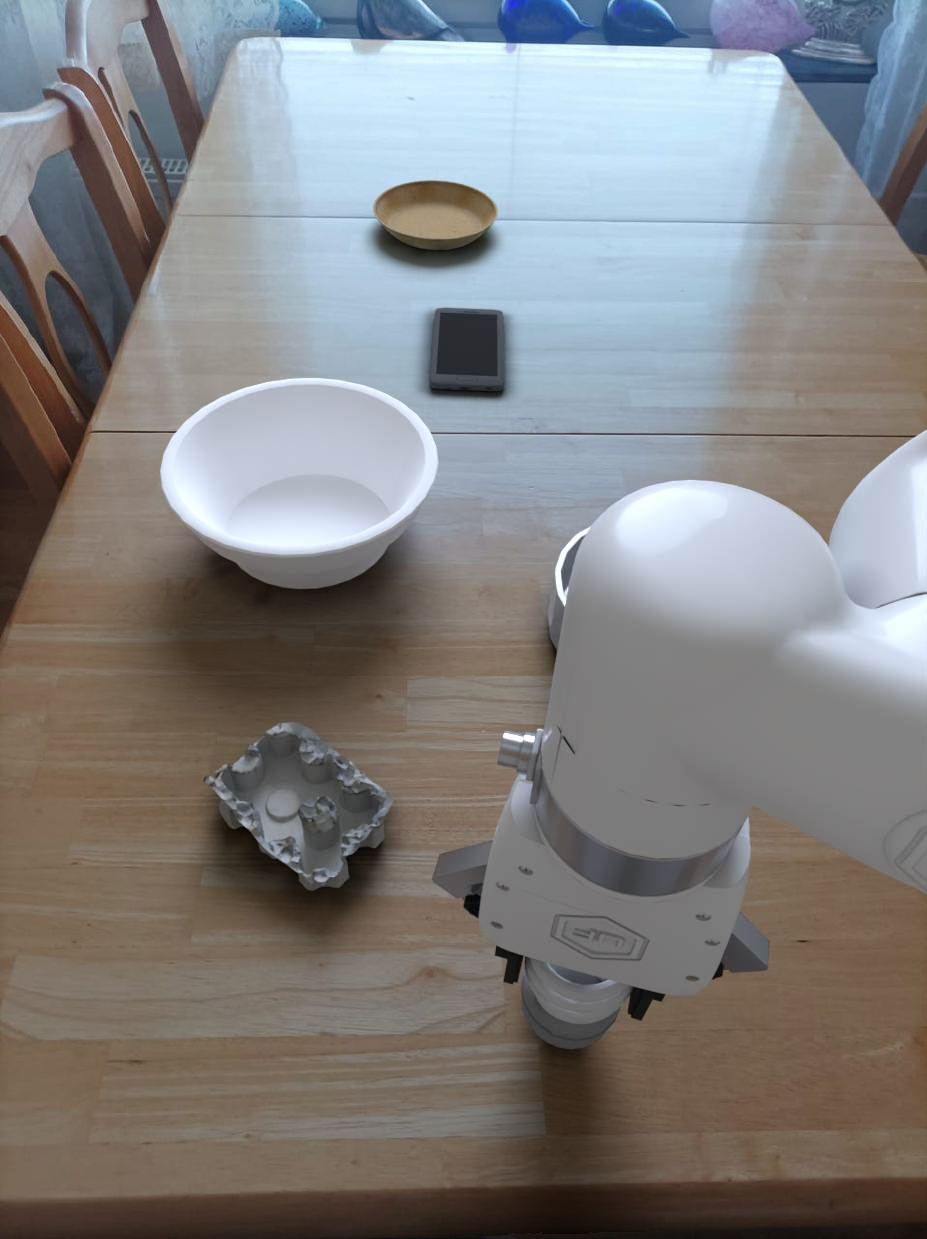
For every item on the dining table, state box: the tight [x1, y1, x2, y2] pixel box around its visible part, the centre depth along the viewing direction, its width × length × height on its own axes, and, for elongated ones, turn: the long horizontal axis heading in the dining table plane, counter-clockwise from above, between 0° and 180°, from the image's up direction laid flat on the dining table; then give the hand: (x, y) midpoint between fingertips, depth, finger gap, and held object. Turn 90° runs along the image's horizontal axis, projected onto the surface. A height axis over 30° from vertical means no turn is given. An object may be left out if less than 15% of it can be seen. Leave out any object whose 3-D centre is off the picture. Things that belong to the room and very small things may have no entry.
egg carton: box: [202, 721, 395, 892], centre depth 59 cm, size 11×8×4 cm
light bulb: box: [520, 956, 634, 1050], centre depth 48 cm, size 6×6×12 cm
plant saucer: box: [372, 179, 499, 251], centre depth 112 cm, size 15×15×3 cm
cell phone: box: [429, 307, 506, 392], centre depth 95 cm, size 7×14×1 cm, turn 179°
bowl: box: [159, 377, 440, 590], centre depth 74 cm, size 21×21×8 cm
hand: (577, 971), depth 48 cm, fingers closed on light bulb, 5 cm apart
